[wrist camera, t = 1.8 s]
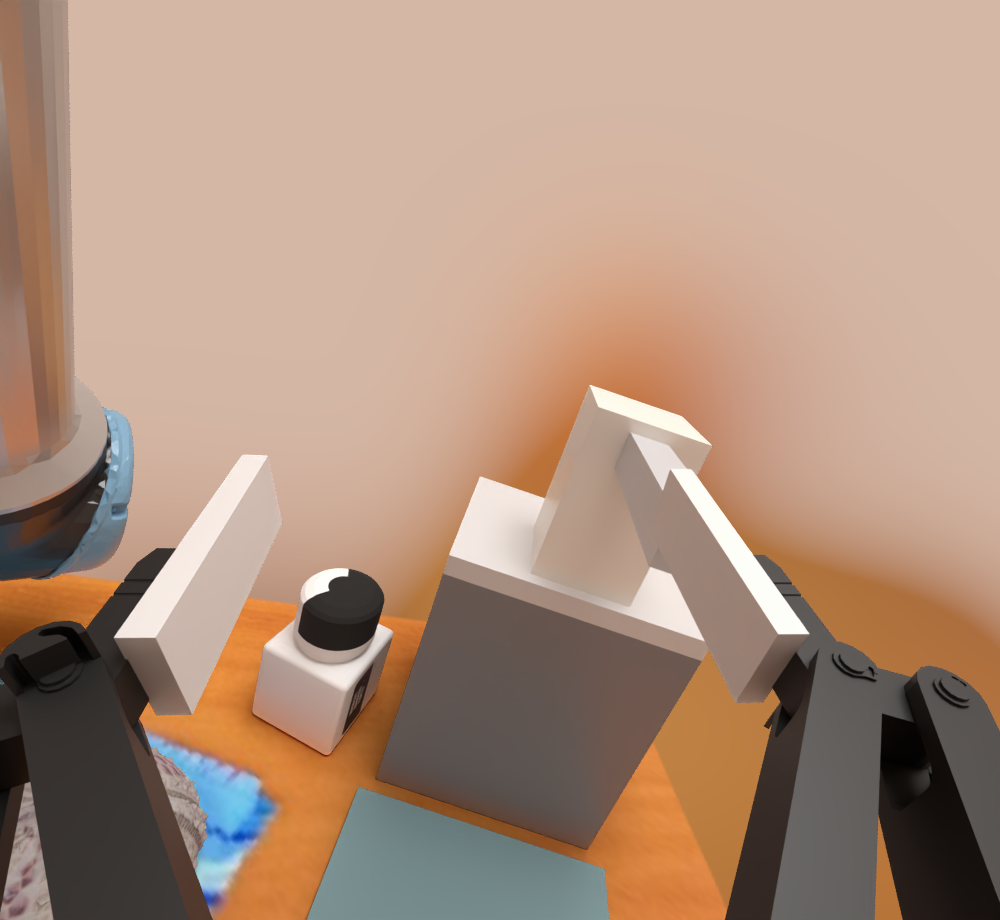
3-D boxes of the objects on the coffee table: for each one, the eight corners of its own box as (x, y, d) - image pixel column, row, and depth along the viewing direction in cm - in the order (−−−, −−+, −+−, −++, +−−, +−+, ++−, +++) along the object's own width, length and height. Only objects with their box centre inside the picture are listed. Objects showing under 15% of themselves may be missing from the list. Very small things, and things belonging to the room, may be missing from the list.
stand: (587, 849, 39) (712, 643, 31) (375, 779, 39) (449, 554, 31) (578, 708, 52) (664, 539, 44) (420, 655, 52) (480, 476, 44)
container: (377, 691, 46) (409, 583, 41) (327, 759, 39) (360, 637, 34) (309, 655, 47) (333, 546, 43) (249, 714, 40) (271, 591, 36)
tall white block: (666, 757, 22) (806, 536, 18) (519, 708, 22) (625, 474, 17) (616, 553, 39) (681, 416, 34) (534, 525, 38) (589, 384, 34)
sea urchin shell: (40, 1137, 21) (34, 1052, 18) (-220, 1004, 22) (-264, 903, 19) (247, 825, 33) (262, 746, 30) (76, 749, 34) (76, 666, 31)
